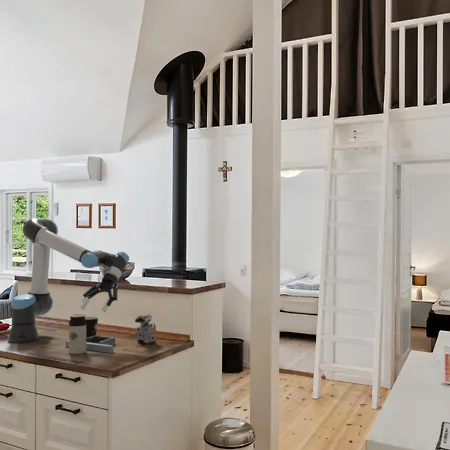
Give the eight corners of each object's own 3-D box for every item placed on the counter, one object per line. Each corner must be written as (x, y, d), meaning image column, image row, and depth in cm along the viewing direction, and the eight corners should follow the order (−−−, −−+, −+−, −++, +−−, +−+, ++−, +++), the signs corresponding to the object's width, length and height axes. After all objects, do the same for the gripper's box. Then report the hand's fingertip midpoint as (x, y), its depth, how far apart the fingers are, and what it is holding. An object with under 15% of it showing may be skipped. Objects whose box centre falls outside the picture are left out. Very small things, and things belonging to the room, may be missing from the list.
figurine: (129, 345, 254) (129, 315, 254) (144, 340, 264) (145, 312, 264) (143, 347, 249) (143, 317, 249) (158, 343, 259) (158, 314, 259)
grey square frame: (79, 347, 249) (79, 340, 249) (95, 342, 261) (95, 335, 261) (99, 349, 244) (99, 342, 244) (115, 344, 255) (115, 337, 255)
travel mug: (77, 349, 245) (78, 312, 245) (89, 351, 241) (89, 314, 241) (65, 353, 238) (65, 315, 238) (77, 355, 234) (77, 316, 234)
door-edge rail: (65, 346, 250) (65, 340, 250) (68, 345, 252) (68, 340, 252) (110, 352, 238) (110, 346, 238) (113, 351, 240) (113, 345, 240)
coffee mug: (88, 338, 269) (88, 320, 269) (78, 336, 274) (78, 318, 274) (105, 334, 278) (105, 317, 278) (95, 332, 283) (95, 315, 283)
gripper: (134, 282, 260) (116, 316, 246) (96, 280, 270) (76, 312, 257) (128, 273, 255) (109, 306, 241) (89, 271, 266) (69, 303, 252)
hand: (92, 309), depth 249 cm, fingers open, 13 cm apart
